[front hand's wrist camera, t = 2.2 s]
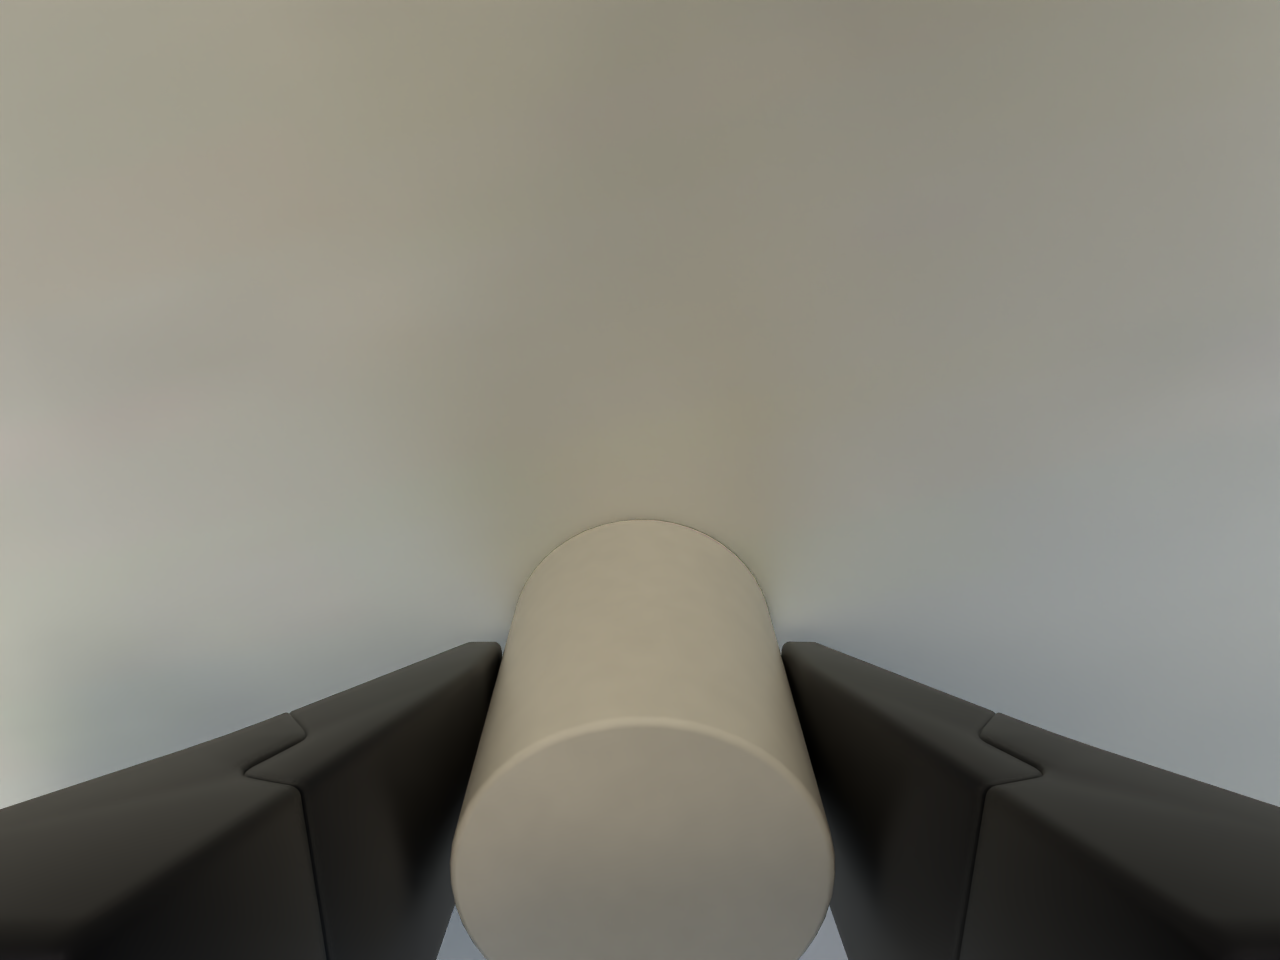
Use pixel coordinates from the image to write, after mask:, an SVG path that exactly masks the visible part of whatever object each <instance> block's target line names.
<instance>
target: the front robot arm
mask: <svg viewBox="0 0 1280 960" xmlns="http://www.w3.org/2000/svg"><path fill="white" fill-rule="evenodd" d="M781 657H782V661H783V664H784V668H785V671H786V675H787V679H788V682H789V686H790V689H791V693H792V696H793V700H794V704H795V707H796V711H797V714H798V718H799V721H800V725H801V729H802V732H803V736H804V739H805V743H806V746H807V750H808V754H809V757H810V761H811V764H812V768H813V771H814V775H815V779H816V782H817V786H818V789H819V793H820V797H821V800H822V804H823V807H824V811H825V814H826V818H827V822H828V825H829V829H830V832H831V837H832V842H833V847H834V852H835V879H834V887H833V894H832V897H831V900H830V904H829V905H830V908H831V911H832V914H833V917H834V920H835V923H836V925H837V928H838V931H839V934H840V937H841V940H842V943H843V946H844V949H845V952H846V954H847V957H848V960H1280V807H1278V806H1275V805H1271V804H1268V803H1265V802H1262V801H1259V800H1256V799H1253V798H1250V797H1247V796H1244V795H1241V794H1238V793H1234V792H1231V791H1228V790H1225V789H1222V788H1219V787H1216V786H1213V785H1210V784H1207V783H1204V782H1201V781H1197V780H1194V779H1191V778H1188V777H1185V776H1182V775H1179V774H1176V773H1173V772H1170V771H1167V770H1164V769H1160V768H1157V767H1154V766H1151V765H1148V764H1145V763H1142V762H1139V761H1136V760H1133V759H1130V758H1127V757H1123V756H1120V755H1117V754H1114V753H1111V752H1108V751H1105V750H1102V749H1099V748H1096V747H1093V746H1090V745H1087V744H1084V743H1081V742H1078V741H1075V740H1073V739H1070V738H1067V737H1064V736H1061V735H1058V734H1055V733H1052V732H1050V731H1047V730H1044V729H1042V728H1039V727H1036V726H1033V725H1031V724H1028V723H1025V722H1023V721H1020V720H1017V719H1015V718H1012V717H1010V716H1007V715H1004V714H1002V713H996V714H995V713H994V712H993V711H991V710H988V709H986V708H983V707H980V706H978V705H975V704H973V703H970V702H968V701H965V700H962V699H960V698H957V697H955V696H952V695H950V694H947V693H944V692H942V691H939V690H937V689H934V688H931V687H929V686H926V685H924V684H921V683H919V682H916V681H913V680H911V679H908V678H906V677H903V676H900V675H898V674H895V673H893V672H890V671H888V670H885V669H882V668H880V667H877V666H875V665H872V664H870V663H867V662H864V661H862V660H859V659H857V658H854V657H851V656H849V655H846V654H844V653H841V652H839V651H836V650H833V649H831V648H828V647H826V646H823V645H820V644H818V643H815V642H787V643H785V644H784V645H783V647H782V652H781ZM501 661H502V650H501V646H500V645H499V644H498V643H497V642H468V643H466V644H463V645H460V646H458V647H455V648H453V649H450V650H448V651H445V652H443V653H440V654H437V655H435V656H432V657H430V658H427V659H425V660H422V661H419V662H417V663H414V664H412V665H409V666H407V667H404V668H402V669H399V670H396V671H394V672H391V673H389V674H386V675H384V676H381V677H379V678H376V679H373V680H371V681H368V682H366V683H363V684H361V685H358V686H355V687H353V688H350V689H348V690H345V691H343V692H340V693H338V694H335V695H332V696H330V697H327V698H325V699H322V700H320V701H317V702H315V703H312V704H309V705H307V706H304V707H302V708H299V709H297V710H294V711H292V712H290V714H289V713H283V714H281V715H278V716H275V717H273V718H270V719H268V720H265V721H263V722H260V723H257V724H254V725H252V726H249V727H246V728H244V729H241V730H238V731H236V732H233V733H230V734H227V735H225V736H222V737H219V738H216V739H213V740H210V741H207V742H204V743H201V744H198V745H195V746H192V747H190V748H187V749H184V750H181V751H178V752H175V753H172V754H168V755H165V756H162V757H159V758H156V759H153V760H150V761H147V762H144V763H141V764H138V765H135V766H132V767H129V768H126V769H123V770H119V771H116V772H113V773H110V774H107V775H104V776H101V777H98V778H95V779H92V780H89V781H86V782H83V783H80V784H77V785H74V786H70V787H67V788H64V789H61V790H58V791H55V792H52V793H49V794H46V795H43V796H40V797H37V798H34V799H31V800H28V801H25V802H21V803H18V804H15V805H12V806H9V807H6V808H3V809H0V960H436V958H437V955H438V953H439V950H440V947H441V944H442V941H443V938H444V935H445V932H446V929H447V926H448V923H449V920H450V917H451V914H452V911H453V908H454V906H455V901H454V896H453V891H452V887H451V880H450V856H451V848H452V841H453V838H454V834H455V830H456V827H457V823H458V819H459V815H460V812H461V808H462V804H463V801H464V797H465V793H466V790H467V786H468V782H469V779H470V775H471V771H472V768H473V764H474V760H475V756H476V753H477V749H478V745H479V742H480V738H481V734H482V731H483V727H484V723H485V720H486V716H487V712H488V709H489V705H490V701H491V698H492V694H493V690H494V686H495V683H496V679H497V675H498V672H499V668H500V664H501Z"/></svg>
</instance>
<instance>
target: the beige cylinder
mask: <svg viewBox="0 0 1280 960" xmlns="http://www.w3.org/2000/svg"><path fill="white" fill-rule="evenodd" d="M834 879H835V852H834V847H833V842H832V837H831V832H830V829H829V825H828V822H827V818H826V814H825V811H824V807H823V804H822V800H821V797H820V793H819V789H818V786H817V782H816V779H815V775H814V771H813V768H812V764H811V761H810V757H809V754H808V750H807V746H806V743H805V739H804V736H803V732H802V729H801V725H800V721H799V718H798V714H797V711H796V707H795V704H794V700H793V696H792V693H791V689H790V686H789V682H788V679H787V675H786V671H785V668H784V664H783V661H782V657H781V654H780V650H779V646H778V643H777V639H776V636H775V632H774V629H773V625H772V621H771V618H770V614H769V611H768V607H767V604H766V601H765V598H764V596H763V593H762V591H761V589H760V587H759V585H758V583H757V581H756V579H755V578H754V576H753V575H752V574H751V572H750V571H749V570H748V568H747V567H746V565H745V564H744V563H743V562H742V561H741V560H740V559H739V558H738V557H737V556H736V555H735V554H734V553H733V552H731V551H730V550H729V549H728V548H726V547H725V546H724V545H722V544H721V543H720V542H718V541H716V540H715V539H713V538H711V537H709V536H708V535H706V534H704V533H701V532H699V531H697V530H694V529H692V528H689V527H686V526H682V525H679V524H675V523H671V522H665V521H658V520H626V521H618V522H613V523H609V524H604V525H601V526H598V527H595V528H592V529H589V530H586V531H584V532H582V533H580V534H578V535H576V536H574V537H572V538H570V539H569V540H567V541H566V542H564V543H563V544H561V545H560V546H558V547H557V548H556V549H554V550H553V551H552V552H551V553H550V554H549V555H548V556H546V557H545V558H544V559H543V561H542V562H541V563H540V564H539V565H538V566H537V567H536V569H535V570H534V571H533V573H532V574H531V576H530V577H529V579H528V580H527V582H526V583H525V585H524V588H523V590H522V592H521V594H520V596H519V599H518V602H517V606H516V609H515V613H514V616H513V620H512V624H511V627H510V631H509V635H508V639H507V642H506V646H505V650H504V653H503V657H502V661H501V664H500V668H499V672H498V675H497V679H496V683H495V686H494V690H493V694H492V698H491V701H490V705H489V709H488V712H487V716H486V720H485V723H484V727H483V731H482V734H481V738H480V742H479V745H478V749H477V753H476V756H475V760H474V764H473V768H472V771H471V775H470V779H469V782H468V786H467V790H466V793H465V797H464V801H463V804H462V808H461V812H460V815H459V819H458V823H457V827H456V830H455V834H454V838H453V841H452V848H451V856H450V880H451V887H452V891H453V896H454V901H455V905H456V908H457V910H458V913H459V915H460V918H461V921H462V923H463V926H464V927H465V929H466V931H467V933H468V934H469V936H470V938H471V940H472V941H473V943H474V944H475V945H476V947H477V948H478V949H479V951H480V952H481V953H482V954H483V956H484V957H485V958H486V959H487V960H798V959H799V958H800V957H801V956H802V954H803V953H804V952H805V951H806V950H807V948H808V947H809V945H810V944H811V942H812V941H813V939H814V938H815V936H816V935H817V933H818V931H819V929H820V927H821V925H822V923H823V921H824V919H825V917H826V913H827V910H828V907H829V904H830V900H831V897H832V894H833V887H834Z"/></svg>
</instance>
